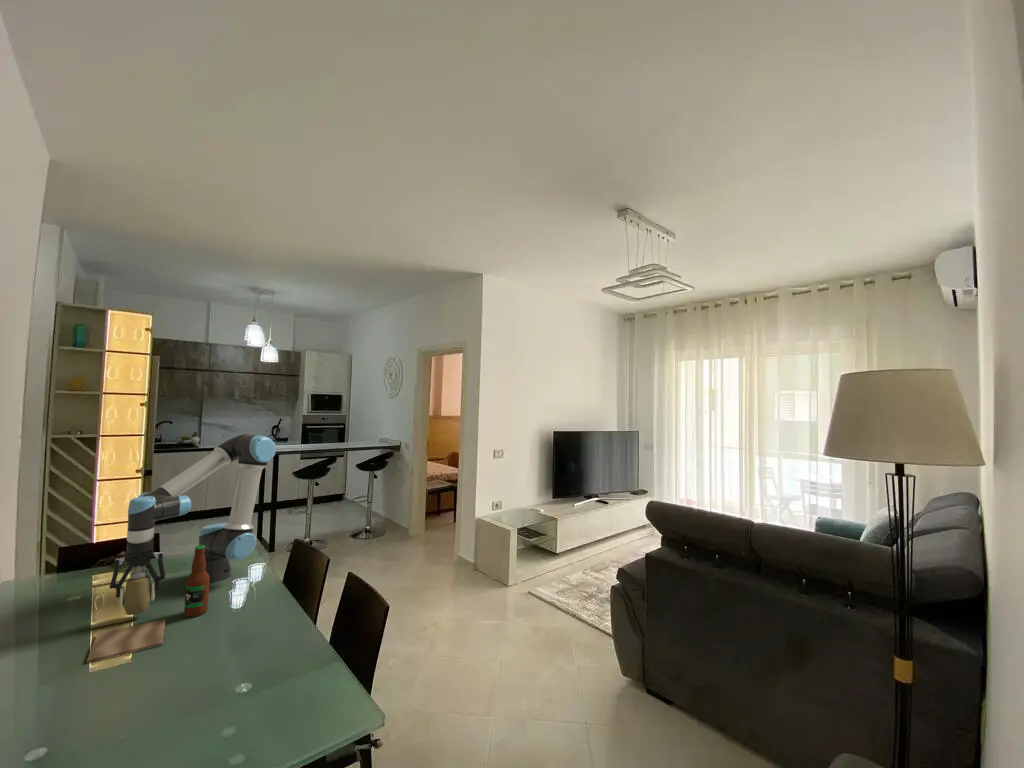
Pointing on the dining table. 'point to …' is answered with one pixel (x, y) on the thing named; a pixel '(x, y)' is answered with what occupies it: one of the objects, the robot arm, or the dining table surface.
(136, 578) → the squeeze bottle
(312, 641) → the dining table surface
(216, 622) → the dining table surface
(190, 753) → the dining table surface
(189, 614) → the bottle
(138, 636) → the walnut board
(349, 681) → the dining table surface
